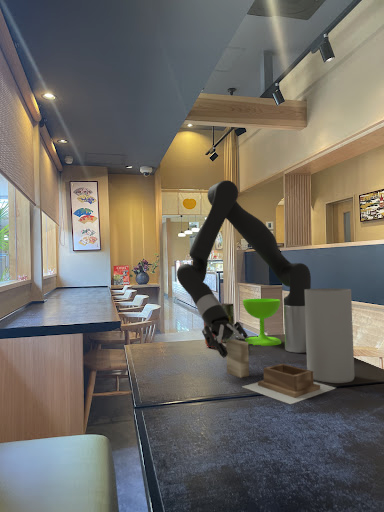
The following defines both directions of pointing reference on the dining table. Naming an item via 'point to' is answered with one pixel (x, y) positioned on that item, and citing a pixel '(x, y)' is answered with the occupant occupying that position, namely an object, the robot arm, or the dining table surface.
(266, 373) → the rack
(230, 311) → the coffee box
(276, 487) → the dining table surface
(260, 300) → the wineglass
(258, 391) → the mat
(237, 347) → the beech block
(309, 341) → the cylinder vase
